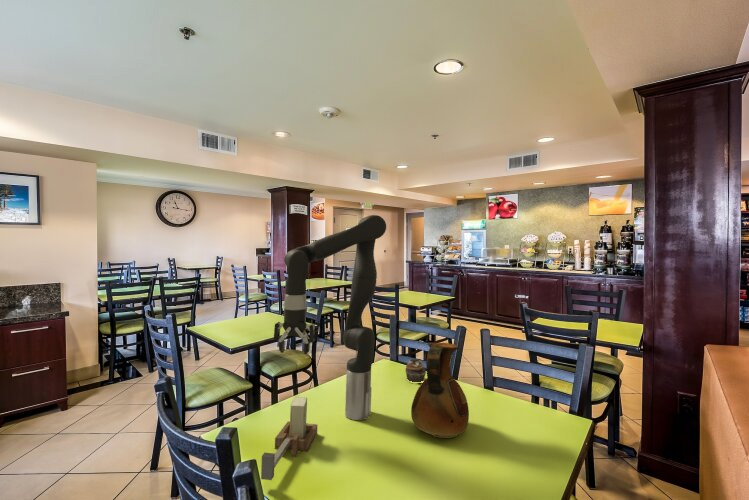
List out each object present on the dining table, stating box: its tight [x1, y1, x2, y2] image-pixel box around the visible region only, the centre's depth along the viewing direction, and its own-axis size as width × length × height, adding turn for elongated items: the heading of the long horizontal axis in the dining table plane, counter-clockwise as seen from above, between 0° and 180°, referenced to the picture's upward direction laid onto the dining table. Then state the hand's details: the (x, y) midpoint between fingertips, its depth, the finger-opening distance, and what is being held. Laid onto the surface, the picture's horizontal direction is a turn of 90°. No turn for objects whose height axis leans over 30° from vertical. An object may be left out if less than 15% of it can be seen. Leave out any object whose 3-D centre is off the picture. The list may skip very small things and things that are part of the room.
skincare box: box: [289, 396, 308, 439], centre depth 113 cm, size 6×4×12 cm
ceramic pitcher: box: [410, 342, 470, 439], centre depth 122 cm, size 20×20×30 cm
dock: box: [274, 420, 318, 458], centre depth 111 cm, size 10×13×5 cm
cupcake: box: [405, 357, 427, 382], centre depth 166 cm, size 10×10×10 cm
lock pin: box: [260, 439, 291, 481], centre depth 98 cm, size 3×15×6 cm, turn 172°
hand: (294, 352), depth 123 cm, fingers open, 8 cm apart
